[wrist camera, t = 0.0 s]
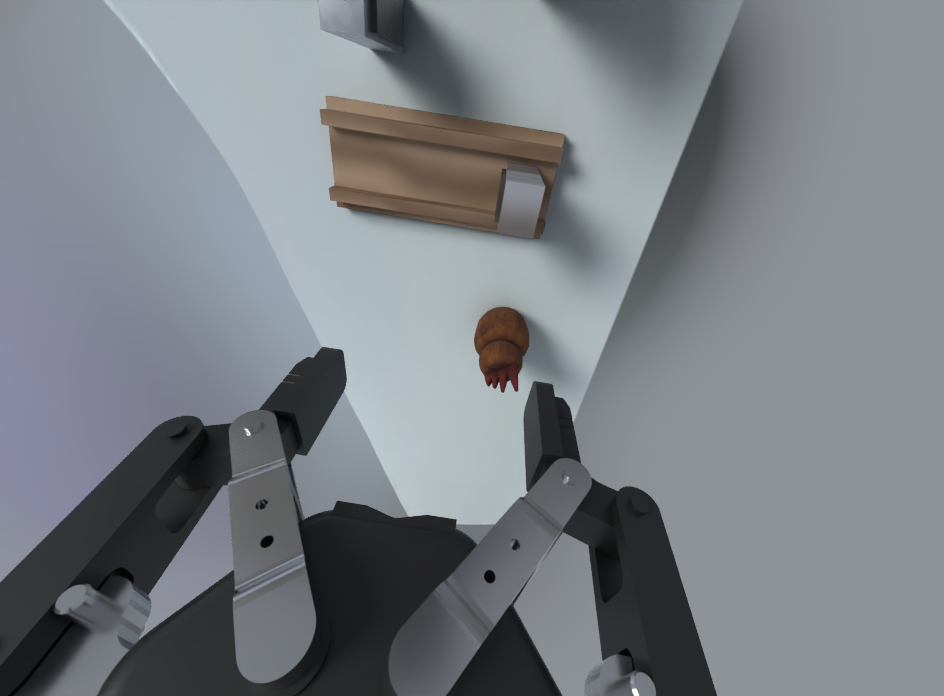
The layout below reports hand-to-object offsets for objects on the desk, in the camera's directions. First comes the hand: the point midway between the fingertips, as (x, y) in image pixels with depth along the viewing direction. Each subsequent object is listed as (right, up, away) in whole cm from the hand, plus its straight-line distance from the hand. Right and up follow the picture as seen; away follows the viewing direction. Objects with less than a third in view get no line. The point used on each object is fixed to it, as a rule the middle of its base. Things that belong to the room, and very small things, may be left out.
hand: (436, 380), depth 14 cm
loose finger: (-6, +30, +15) cm, 34 cm away
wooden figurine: (+6, +5, +32) cm, 33 cm away
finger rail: (-1, +20, +22) cm, 30 cm away
